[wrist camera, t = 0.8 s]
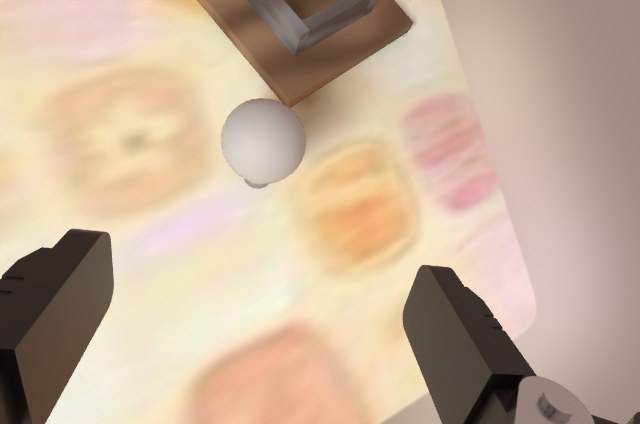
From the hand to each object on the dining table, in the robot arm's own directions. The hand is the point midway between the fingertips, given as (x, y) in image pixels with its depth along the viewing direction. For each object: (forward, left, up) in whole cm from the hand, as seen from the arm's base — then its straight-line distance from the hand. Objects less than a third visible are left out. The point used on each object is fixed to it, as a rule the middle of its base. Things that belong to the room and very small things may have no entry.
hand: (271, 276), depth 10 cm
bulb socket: (-21, +24, -24) cm, 40 cm away
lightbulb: (-8, +8, -24) cm, 26 cm away
